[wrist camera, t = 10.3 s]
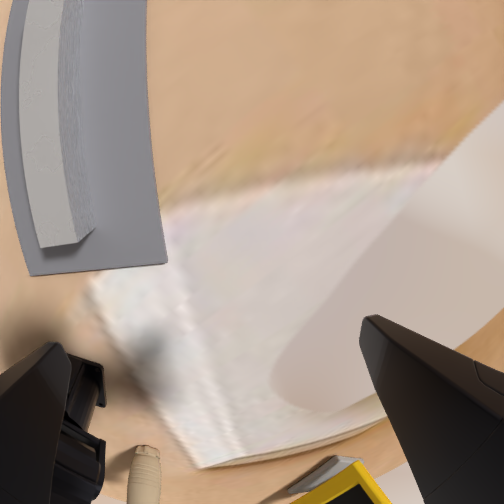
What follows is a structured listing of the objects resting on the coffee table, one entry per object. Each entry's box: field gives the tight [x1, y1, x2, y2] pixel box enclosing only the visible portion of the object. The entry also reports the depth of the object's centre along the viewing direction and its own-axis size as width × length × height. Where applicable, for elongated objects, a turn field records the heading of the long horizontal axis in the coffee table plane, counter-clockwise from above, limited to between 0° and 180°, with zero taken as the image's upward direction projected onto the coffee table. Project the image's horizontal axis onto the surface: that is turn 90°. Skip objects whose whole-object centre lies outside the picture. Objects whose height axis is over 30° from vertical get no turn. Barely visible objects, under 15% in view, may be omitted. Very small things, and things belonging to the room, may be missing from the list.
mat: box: [1, 0, 168, 276], centre depth 14 cm, size 24×12×1 cm, turn 4°
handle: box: [127, 445, 161, 504], centre depth 21 cm, size 5×6×15 cm
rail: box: [19, 0, 96, 248], centre depth 12 cm, size 18×3×3 cm, turn 4°
